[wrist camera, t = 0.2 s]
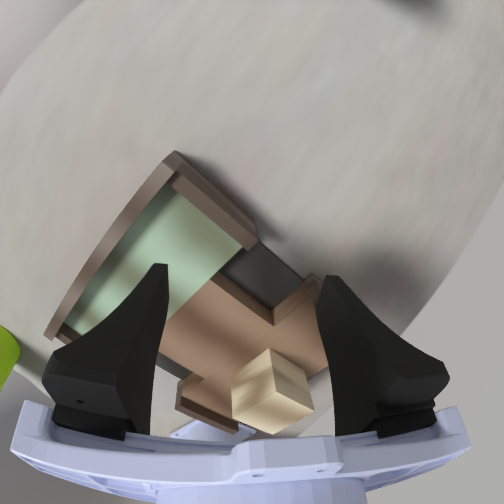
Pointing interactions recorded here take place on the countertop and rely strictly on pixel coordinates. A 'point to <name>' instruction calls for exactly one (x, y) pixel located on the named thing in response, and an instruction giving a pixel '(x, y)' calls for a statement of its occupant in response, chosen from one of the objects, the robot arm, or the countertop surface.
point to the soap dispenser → (7, 354)
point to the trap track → (198, 289)
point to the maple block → (270, 393)
